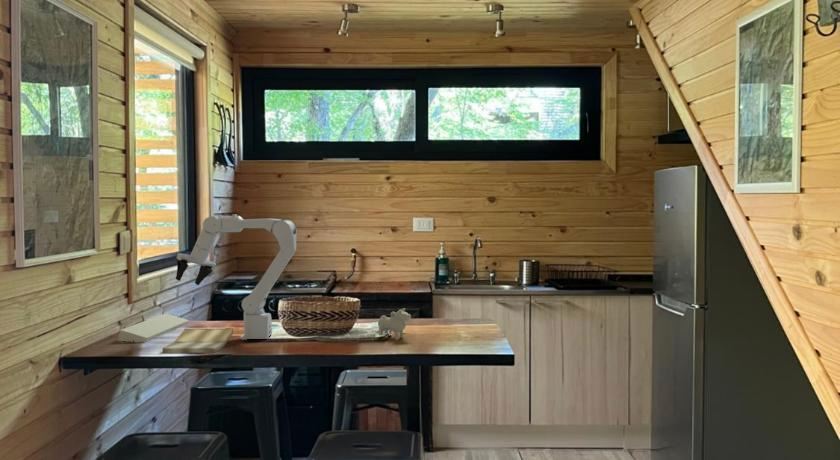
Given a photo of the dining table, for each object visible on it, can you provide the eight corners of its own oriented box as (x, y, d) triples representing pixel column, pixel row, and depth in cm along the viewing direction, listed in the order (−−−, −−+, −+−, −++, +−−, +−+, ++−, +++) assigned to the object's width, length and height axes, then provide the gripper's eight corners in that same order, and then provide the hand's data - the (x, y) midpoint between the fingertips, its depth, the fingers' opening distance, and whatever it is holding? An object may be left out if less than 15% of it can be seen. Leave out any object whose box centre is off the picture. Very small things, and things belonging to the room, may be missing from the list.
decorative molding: (186, 331, 270) (162, 324, 271) (189, 320, 270) (165, 313, 270) (143, 351, 236) (117, 343, 237) (147, 337, 236) (120, 329, 236)
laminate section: (224, 346, 229) (224, 341, 229) (214, 352, 219) (214, 348, 219) (174, 346, 229) (174, 341, 229) (162, 352, 219) (162, 348, 219)
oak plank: (233, 332, 239) (232, 328, 238) (224, 345, 229) (224, 341, 229) (185, 333, 239) (184, 328, 239) (174, 345, 230) (174, 341, 229)
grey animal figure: (406, 340, 235) (406, 310, 235) (375, 337, 242) (375, 307, 241) (414, 338, 240) (414, 308, 239) (384, 334, 246) (383, 305, 246)
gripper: (215, 248, 249) (200, 281, 250) (180, 238, 239) (164, 273, 239) (224, 255, 244) (208, 289, 245) (188, 245, 234) (172, 281, 235)
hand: (187, 281), depth 242 cm, fingers open, 7 cm apart
